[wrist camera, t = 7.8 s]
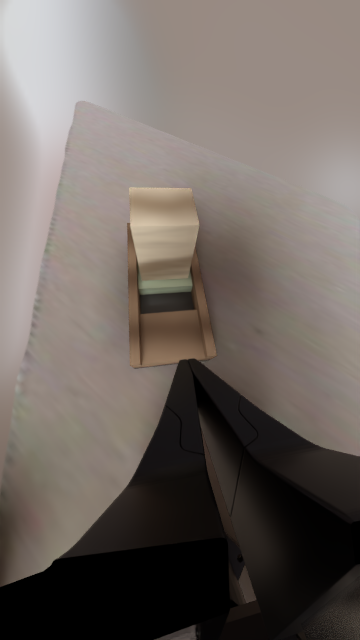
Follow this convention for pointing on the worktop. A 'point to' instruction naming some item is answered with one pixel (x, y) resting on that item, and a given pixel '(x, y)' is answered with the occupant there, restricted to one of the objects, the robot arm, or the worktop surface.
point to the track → (167, 317)
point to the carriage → (163, 231)
